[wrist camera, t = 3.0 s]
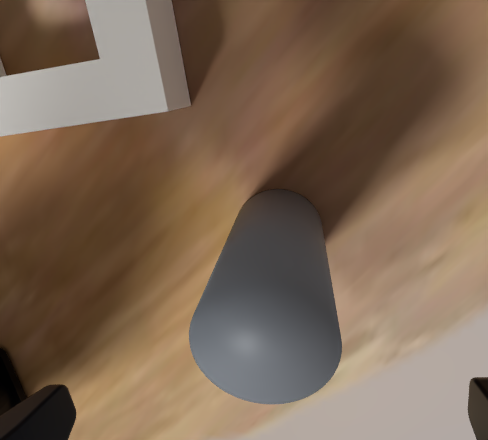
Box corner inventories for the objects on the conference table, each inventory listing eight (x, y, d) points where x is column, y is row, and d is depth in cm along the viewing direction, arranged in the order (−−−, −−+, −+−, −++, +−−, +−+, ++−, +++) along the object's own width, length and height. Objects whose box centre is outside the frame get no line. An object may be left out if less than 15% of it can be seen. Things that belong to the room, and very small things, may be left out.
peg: (325, 266, 17) (345, 403, 10) (242, 272, 18) (203, 404, 11) (318, 184, 16) (337, 273, 9) (229, 193, 17) (175, 283, 9)
